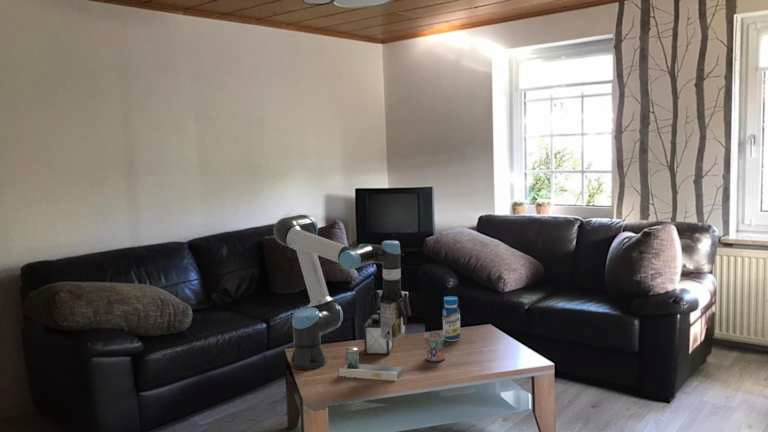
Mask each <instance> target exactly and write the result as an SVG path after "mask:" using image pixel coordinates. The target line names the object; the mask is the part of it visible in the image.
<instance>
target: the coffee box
mask: <svg viewBox="0 0 768 432" xmlns="http://www.w3.org/2000/svg"><path fill="white" fill-rule="evenodd" d="M400 299H401V300H400V302H401V303H402V305H403V307H404V308H405V304H404V298H403V297H402V298H401V297H400ZM379 311H380V318H381V339H385V340H389V341H396V340H398V339H401V338H403V337H405V336H406V330H405V331H404V332H403V333H401V317H402V314H401V312H400V310H399V307H398V302H396V301H393V300H387V301H384V299H382V300H380V307H379ZM404 328H405V329H406V325H404Z"/></svg>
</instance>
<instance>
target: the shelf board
mask: <svg viewBox="0 0 768 432" xmlns="http://www.w3.org/2000/svg"><path fill="white" fill-rule="evenodd" d="M338 369H339V371H338V372H339V374H338V375H339V377H341V376H343V377H344V376H345V378H354V377H356V379H368V380H382V381H383V380H384V381H396V382H397V381H398V379H399V378H400V377H401V376H402V374H403V373H404V367H402V366H392V365H391V366H389V365H375V364H362V363H359V368H358V369H347V364H345V366H344V367H343V368H342V367H340V368H338ZM343 377H342V378H343Z"/></svg>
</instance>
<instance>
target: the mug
mask: <svg viewBox="0 0 768 432" xmlns="http://www.w3.org/2000/svg"><path fill="white" fill-rule="evenodd" d="M423 338H424V340H425V344H426V354H425V357H424V358H425V360H427V361H429V362H441V361H443V360H445V359H446V356H445V354H444V350H443V349H444V347H443V346H444V341H445V340H444V338H445V334H443V332H439V331H438V332H437V331H436V332H435V331H433V332H427V333H424V334H423Z"/></svg>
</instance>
